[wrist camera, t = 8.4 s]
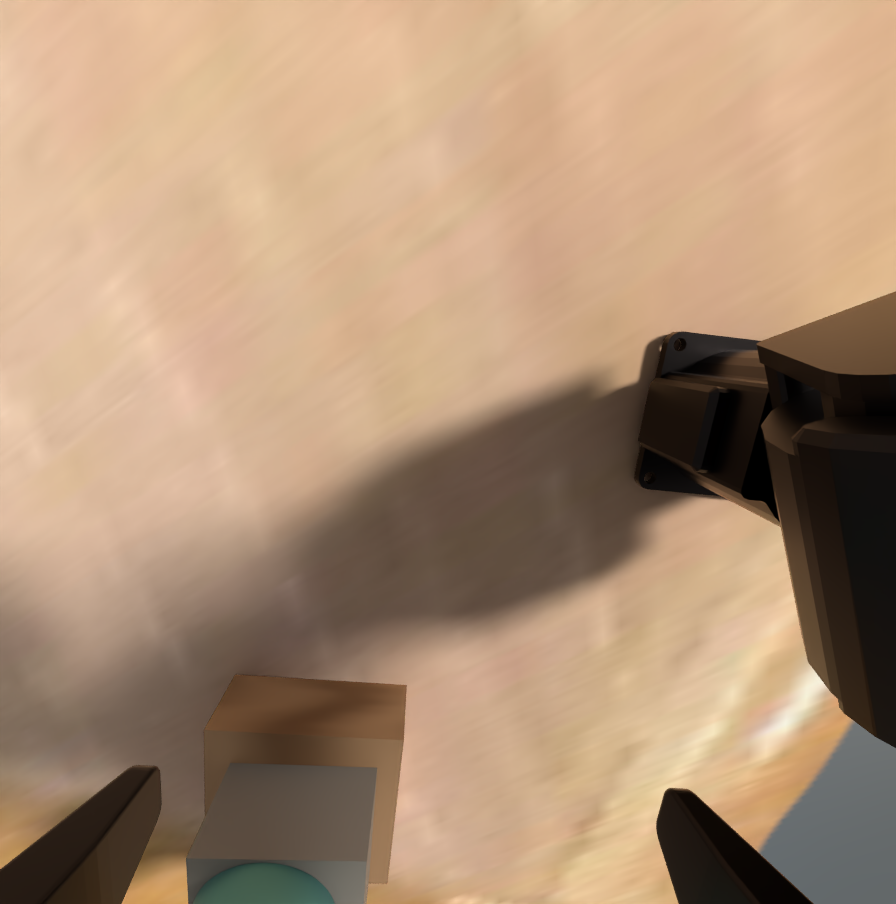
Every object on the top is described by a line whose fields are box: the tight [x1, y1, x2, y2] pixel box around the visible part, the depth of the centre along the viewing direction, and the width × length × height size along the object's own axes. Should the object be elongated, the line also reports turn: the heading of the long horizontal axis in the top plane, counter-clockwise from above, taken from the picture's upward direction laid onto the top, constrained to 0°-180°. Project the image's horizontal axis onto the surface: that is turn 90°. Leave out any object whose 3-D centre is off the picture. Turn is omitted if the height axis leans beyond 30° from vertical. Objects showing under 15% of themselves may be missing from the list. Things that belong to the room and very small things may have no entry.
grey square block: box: [186, 763, 377, 904], centre depth 18 cm, size 6×6×4 cm
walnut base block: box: [204, 675, 407, 884], centre depth 21 cm, size 8×8×4 cm
